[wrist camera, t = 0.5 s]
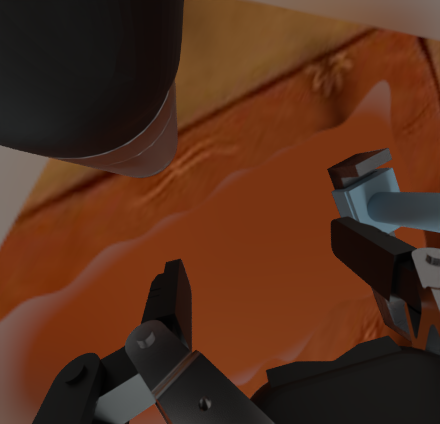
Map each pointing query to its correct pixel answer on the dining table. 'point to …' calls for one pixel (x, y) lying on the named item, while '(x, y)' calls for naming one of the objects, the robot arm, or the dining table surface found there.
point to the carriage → (388, 204)
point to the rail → (353, 173)
